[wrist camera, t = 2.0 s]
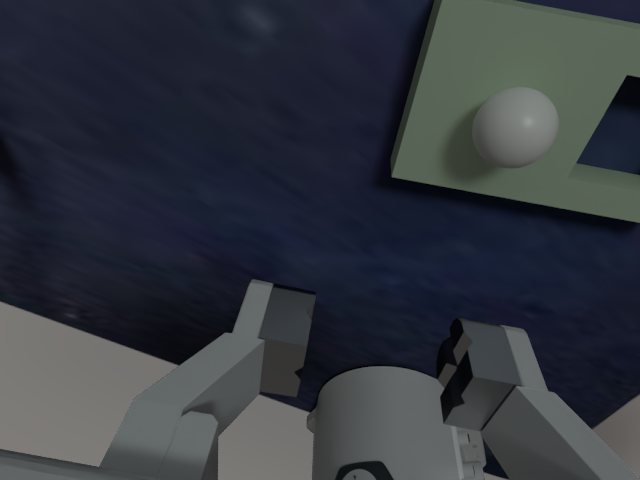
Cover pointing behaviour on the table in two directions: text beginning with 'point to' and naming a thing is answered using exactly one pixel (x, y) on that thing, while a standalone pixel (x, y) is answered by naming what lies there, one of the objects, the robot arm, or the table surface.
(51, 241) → the table surface
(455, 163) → the putting board
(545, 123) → the ball
